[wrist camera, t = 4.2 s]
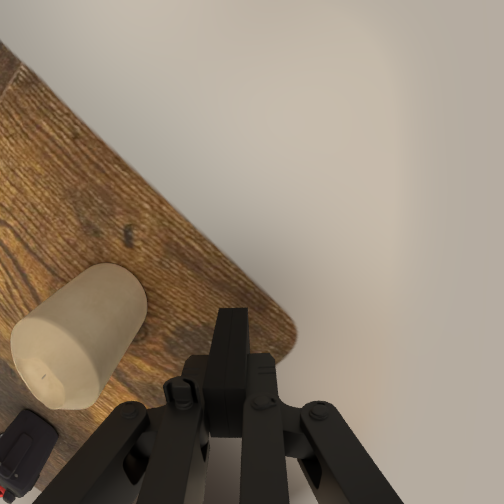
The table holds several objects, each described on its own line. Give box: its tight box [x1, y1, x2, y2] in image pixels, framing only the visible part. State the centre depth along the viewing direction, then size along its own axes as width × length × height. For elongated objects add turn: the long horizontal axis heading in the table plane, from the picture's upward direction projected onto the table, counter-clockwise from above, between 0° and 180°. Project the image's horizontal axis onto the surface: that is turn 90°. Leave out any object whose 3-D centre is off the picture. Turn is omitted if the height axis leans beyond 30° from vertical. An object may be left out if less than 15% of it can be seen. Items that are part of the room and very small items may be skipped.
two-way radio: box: [0, 410, 58, 504], centre depth 18 cm, size 6×4×15 cm
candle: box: [11, 263, 147, 410], centre depth 16 cm, size 6×6×10 cm
